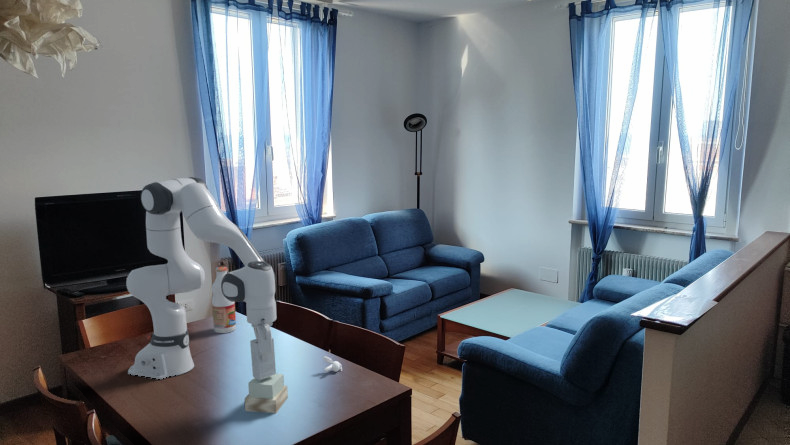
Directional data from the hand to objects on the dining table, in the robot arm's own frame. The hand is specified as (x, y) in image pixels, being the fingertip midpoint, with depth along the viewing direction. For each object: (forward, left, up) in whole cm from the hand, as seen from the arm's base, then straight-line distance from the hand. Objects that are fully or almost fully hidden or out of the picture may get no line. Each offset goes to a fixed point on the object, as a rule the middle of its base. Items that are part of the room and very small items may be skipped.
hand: (263, 357), depth 168 cm
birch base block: (0, 0, -16) cm, 16 cm away
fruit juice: (-44, +62, -16) cm, 78 cm away
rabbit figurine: (+14, +26, -16) cm, 33 cm away
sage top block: (+1, 0, -11) cm, 11 cm away
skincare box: (0, 0, -6) cm, 6 cm away
